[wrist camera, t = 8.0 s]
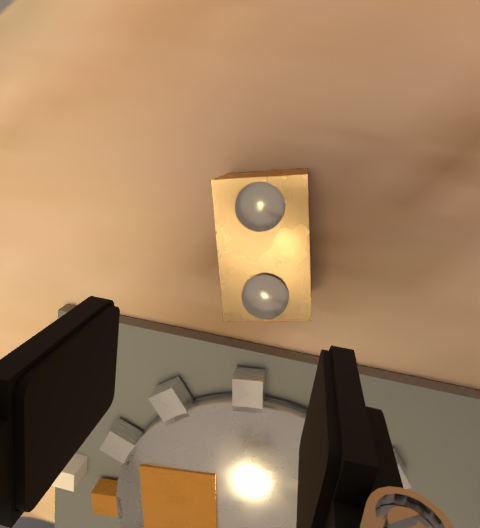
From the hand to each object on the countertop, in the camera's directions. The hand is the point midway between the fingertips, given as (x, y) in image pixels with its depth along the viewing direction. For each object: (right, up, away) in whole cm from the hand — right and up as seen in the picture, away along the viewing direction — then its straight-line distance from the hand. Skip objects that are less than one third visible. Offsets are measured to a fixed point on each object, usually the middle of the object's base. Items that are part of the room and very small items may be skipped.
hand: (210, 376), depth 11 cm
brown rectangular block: (+3, +5, +17) cm, 18 cm away
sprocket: (+1, -16, +21) cm, 26 cm away
